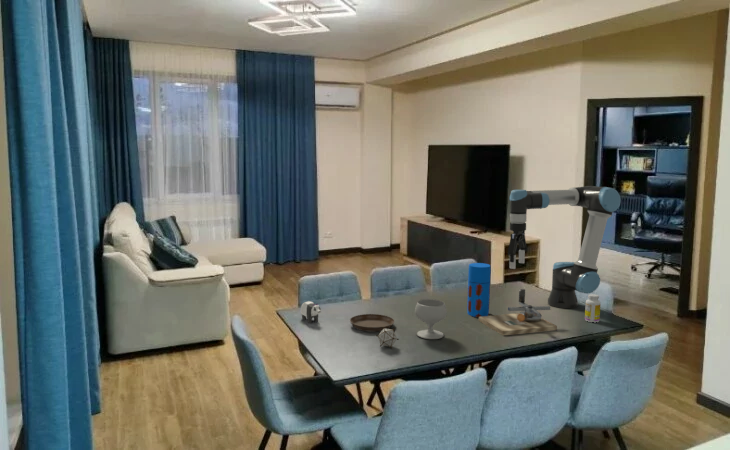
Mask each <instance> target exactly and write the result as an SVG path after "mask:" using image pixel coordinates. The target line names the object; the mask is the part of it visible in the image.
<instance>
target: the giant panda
mask: <svg viewBox="0 0 730 450" xmlns="http://www.w3.org/2000/svg"><path fill="white" fill-rule="evenodd" d="M321 310H322V308H321V306H319V303H316V304H315V303H314V302H313V301H305V302H303V303H302V304H301V306H300V315H301V319H302V320H303V321H306V319H307V323H308V324H312V323H313V322H315V323H318V321H319V315H320V313H322V311H321ZM312 320H313V321H312Z"/></svg>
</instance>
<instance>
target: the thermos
mask: <svg viewBox="0 0 730 450" xmlns="http://www.w3.org/2000/svg"><path fill="white" fill-rule="evenodd" d="M491 271H492V268H491V265H490V264H489V263H485V262H484V263H483V262H472V263H468V276H467V278H468V280H467V306H466V307H467V308H466V309H467V310H466V311H467V315H468V316H470V317H474V318H479V317H481V316H490V315H489V313H490V300H491V299H490V298H491V297H490V296H491V295H490V294H491V292H490V291H491Z"/></svg>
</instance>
